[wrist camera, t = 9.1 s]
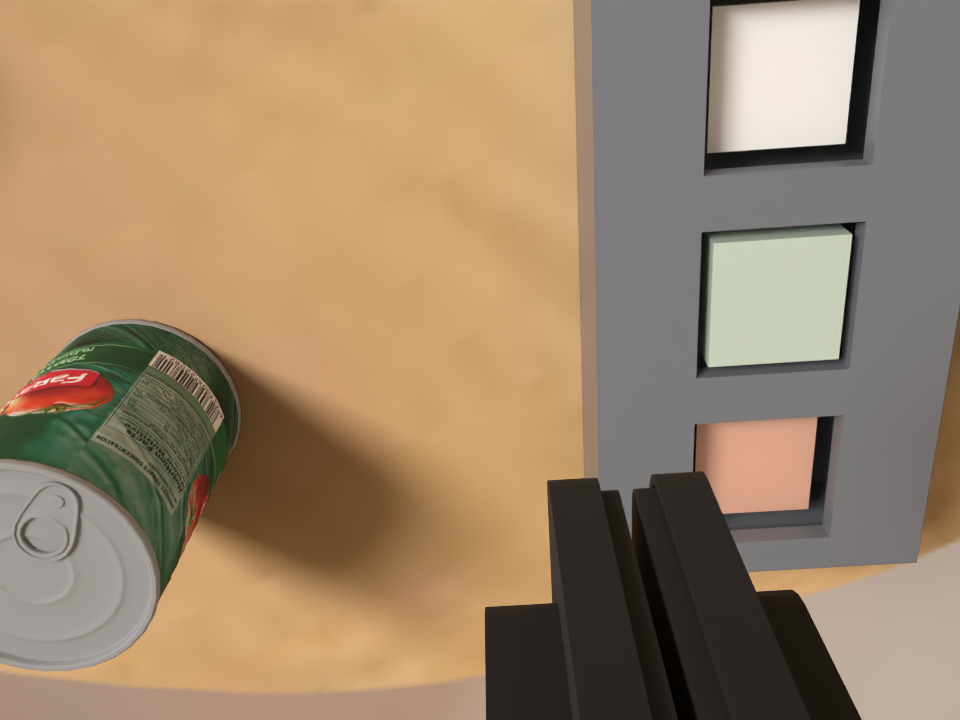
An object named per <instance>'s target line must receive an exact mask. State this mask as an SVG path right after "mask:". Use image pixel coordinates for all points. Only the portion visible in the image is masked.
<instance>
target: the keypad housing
mask: <svg viewBox="0 0 960 720" xmlns="http://www.w3.org/2000/svg"><path fill="white" fill-rule="evenodd" d="M573 2H574V46H575V89H576V133H577V176H578V220H579V264H580V307H581V351H582V394H583V438H584V478H598V481H599V484H600V488H601V491H605V490H618V491H619V493H620V496H621V500H622V504H623V508H624V512H625V516H626V520H627V524H628V527H629V531H630V535H631V539H632V492H633V489H638V488H649V484H650V478H651V475H652V474H664V473H681V472H693V453H694V426H695V424H709V423H725V422H742V421H758V420H775V419H791V418H808V417H818V418H817V428H816V438H815V448H814V457H813V467H812V477H811V487H810V497H809V506H808V509H798V510H781V511H764V512H746V513H729V514H723V516H724V518H725V520H726V523H727V525H728V527H729V530H730V532H731V534H732V537H733V539H734V541H735V544H736V546H737V548H738V551H739V553H740V555H741V558H742V560H743V562H744V565H745V567H746V569H747V572H757V571H775V570H793V569H810V568H828V567H846V566H863V565H881V564H899V563H917V557H918V551H919V545H920V539H921V533H922V527H923V521H924V515H925V510H926V504H927V498H928V492H929V486H930V480H931V474H932V468H933V462H934V456H935V450H936V444H937V438H938V432H939V426H940V420H941V414H942V408H943V402H944V396H945V390H946V385H947V379H948V373H949V367H950V361H951V355H952V349H953V343H954V337H955V331H956V325H957V319H958V313H959V307H960V0H860V5H859V15H858V24H857V34H856V44H855V54H854V64H853V73H852V83H851V93H850V103H849V113H848V122H847V132H846V142H845V144H833V145H819V146H804V147H789V148H775V149H760V150H746V151H731V152H717V153H707V152H705V126H706V99H707V72H708V45H709V17H710V0H573ZM833 223H839V224H840V225H841V226H843V227H844V228H845V229H846V230H848V231H849V232H850V233H851V234H852V242H851V252H850V261H849V270H848V279H847V288H846V297H845V306H844V315H843V324H842V333H841V342H840V352H839V359H832V360H816V361H800V362H784V363H768V364H752V365H736V366H720V367H708V366H707V364H706V362H705V360H704V358H703V356H702V354H701V352H700V351H699V349H698V347H697V344H698V317H699V290H700V263H701V235H702V232H713V231H728V230H743V229H758V228H773V227H788V226H803V225H818V224H833Z"/></svg>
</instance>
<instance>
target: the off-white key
mask: <svg viewBox="0 0 960 720" xmlns="http://www.w3.org/2000/svg"><path fill="white" fill-rule="evenodd" d="M859 5H860V0H710V17H709V45H708V72H707V99H706V126H705V152H707V153H717V152H731V151H746V150H760V149H775V148H789V147H804V146H819V145H833V144H845V142H846V132H847V122H848V113H849V103H850V93H851V83H852V73H853V64H854V54H855V44H856V34H857V24H858V15H859Z"/></svg>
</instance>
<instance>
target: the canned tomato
mask: <svg viewBox="0 0 960 720" xmlns="http://www.w3.org/2000/svg"><path fill="white" fill-rule="evenodd" d="M240 428H241V407H240V401H239V396H238V393H237V390H236V388H235V385H234V383H233V381H232V378H231V377H230V375H229V374H228V372H227V371H226V369H225V368H224V366H223V365H222V363H221V362H220V361H219V360H218V359H217V358H216V357H215V356H214V355H213V354H212V352H211V351H210V350H209V349H208V348H206V347H205V346H204V345H202V344H201V343H199V342H198V341H197V340H195V339H194V338H193V337H191V336H189V335H187V334H185V333H183V332H181V331H179V330H177V329H175V328H173V327H170V326H166V325H163V324H160V323H157V322H152V321H145V320H137V319H128V320H114V321H110V322H105V323H101V324H97V325H95V326H93V327H91V328H89V329H87V330H85V331H83V332H81V333H79V334H78V335H77V336H75V337H74V338H73V339H72V340H70V341H69V342H68V343H67V344H66V345H65V346H64V347H63V349H62V350H61V351H60V353H59V354H58V355H57V356H56V357H55V358H54V359H52V360H51V361H50V362H49V363H48V364H47V365H46V366H45V368H43V369H42V370H41V371H39V373H38V374H37V375H36V376H35V377H34V378H33V379H32V380H30V381H29V383H28V384H27V385H26V386H25V387H24V388H23V389H22V390H20V391H19V392H18V394H17V395H16V396H15V397H14V398H13V399H11V400H10V401H9V402H8V403H7V405H6V406H5V407H4V408H3V409H2V410H0V663H2V664H6V665H10V666H14V667H18V668H22V669H30V670H39V671H68V670H76V669H81V668H85V667H90V666H95V665H97V664H100V663H102V662H105V661H107V660H110V659H112V658H114V657H116V656H117V655H119V654H120V653H122V652H124V651H125V650H127V649H128V648H130V647H131V646H132V645H133V644H134V643H135V642H136V641H137V640H138V639H139V638H140V637H141V635H142V634H143V633H144V632H145V631H146V629H147V627H148V625H149V624H150V622H151V620H152V618H153V617H154V615H155V612H156V608H157V604H158V601H159V599H160V597H161V595H162V593H163V592H164V590H165V588H166V586H167V584H168V583H169V581H170V579H171V575H172V573H173V571H174V570H175V568H176V566H177V564H178V561H179V559H180V557H181V555H182V553H183V552H184V550H185V546H186V544H187V542H188V541H189V539H190V537H191V535H192V532H193V530H194V528H195V526H196V524H197V522H198V519H199V517H200V515H201V514H202V512H203V510H204V507H205V505H206V503H207V501H208V499H209V497H210V494H211V492H212V491H213V489H214V487H215V484H216V482H217V480H218V478H219V476H220V474H221V471H222V470H223V468H224V466H225V463H226V461H227V459H228V457H229V456H230V454H231V452H232V450H233V448H234V446H235V445H236V442H237V439H238V435H239V431H240Z"/></svg>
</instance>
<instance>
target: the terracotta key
mask: <svg viewBox="0 0 960 720" xmlns="http://www.w3.org/2000/svg"><path fill="white" fill-rule="evenodd" d="M817 418H818V417H808V418H791V419H775V420H758V421H742V422H725V423H709V424H695V426H694V453H693V472H698V471H702V472H704V473H705V475H706V476H707V478H708V481H709V483H710V485H711V488H712V490H713V492H714V495H715V497H716V499H717V502H718V504H719V506H720V509H721V511H722V513H723V514H729V513H746V512H764V511H781V510H798V509H808V506H809V497H810V487H811V477H812V467H813V457H814V448H815V438H816V428H817Z"/></svg>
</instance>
